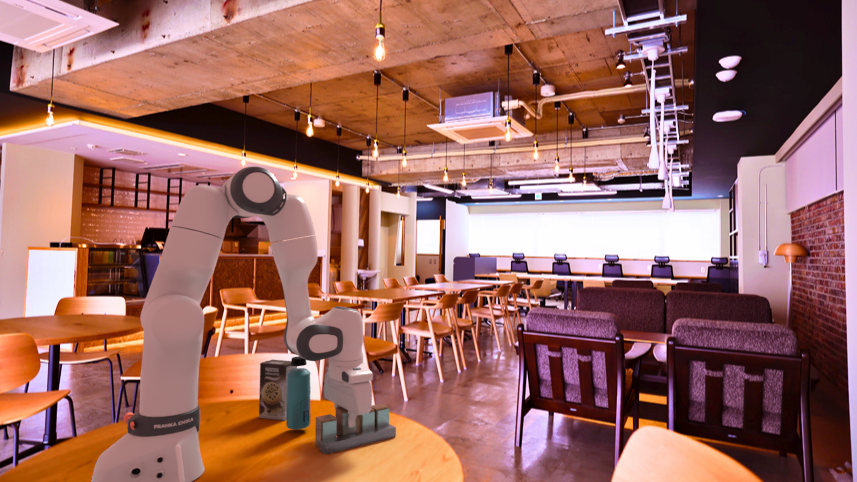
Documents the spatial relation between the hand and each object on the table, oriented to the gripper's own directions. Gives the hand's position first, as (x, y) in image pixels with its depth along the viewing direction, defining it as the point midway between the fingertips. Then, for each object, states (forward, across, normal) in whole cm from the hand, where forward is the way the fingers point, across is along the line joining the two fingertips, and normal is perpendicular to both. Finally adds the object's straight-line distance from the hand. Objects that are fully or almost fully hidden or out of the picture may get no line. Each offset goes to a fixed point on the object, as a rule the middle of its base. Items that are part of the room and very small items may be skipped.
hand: (345, 423), depth 122 cm
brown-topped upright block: (+3, 0, 0) cm, 3 cm away
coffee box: (+4, -30, -7) cm, 31 cm away
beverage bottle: (+4, -14, -7) cm, 17 cm away
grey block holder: (+4, +2, +2) cm, 5 cm away
